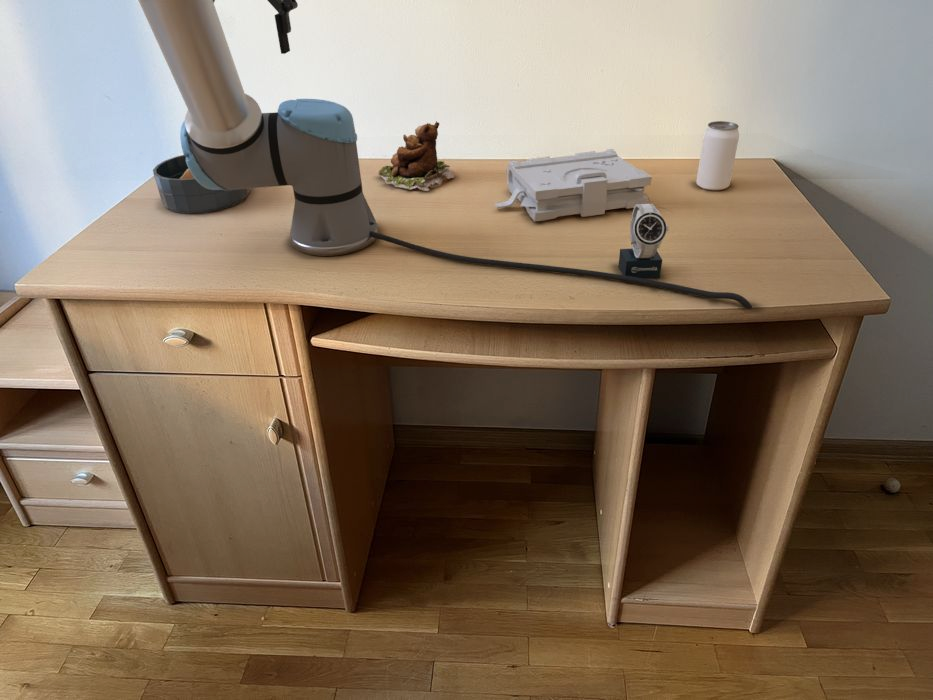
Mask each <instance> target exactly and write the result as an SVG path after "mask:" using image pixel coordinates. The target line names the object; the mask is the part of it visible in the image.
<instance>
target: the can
mask: <svg viewBox="0 0 933 700" xmlns="http://www.w3.org/2000/svg"><path fill="white" fill-rule="evenodd" d="M739 138H740V132H739V124H738V123H735V122H731V121H725V120H716V121H710V122H709V123H707V128H706V129H705V130H704V133H703V138H702V144H701V150H700V155H699V161H698V166H697V167H698V168H697V173H696V180H695V183H696V185H697V187H698V188H700V189H703V190H705V191H715V192H716V191H718V192H719V191H723V190H726V189H728V187H730V185H731V180H732V175H733V170H734V164H735V160H736V155H737V149H738V143H739Z"/></svg>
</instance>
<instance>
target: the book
mask: <svg viewBox="0 0 933 700" xmlns="http://www.w3.org/2000/svg"><path fill="white" fill-rule="evenodd" d="M506 183H507V188H508V191H509V193H510V194H511V196H510V198H509V199H507V200H506V201H501V202H494V203H493V205H494V206H495V208H496V209H503V208H508V207H511V206H512V205H514V204H515V203H516V201H517V200H518V201H519V202H520V207H524V208H525V209H526V213H527V214H528V216H529V217H530V218H531V219H532V220H533V221H534V222H543V221H548V220H553V219H557V218H558V217H564V216H572V215H579V216H581V218H584V217H592V216H600V215H605V213H606V211H608V210H616V209H624V208H625V209H627V210H628V209H634V207H635V205H637V204H649V199H650V197H649V196H648V195H646V193H644V192H645V190H644V189H645V187H648V186H651V184H652V176H651V175H650V174H649V173H648V172H646V171H644V170H643V169H641V168H637V167H635V166H634V165H632V164H631V163H629V162H627V160H625V159H624V158H622V157H621V156H619V155H618V153H617V151H616V150H615V149H614V148H607V149H606V150H605V151H598V152H596V151H595V150H594V151H593V150H592V151H583V152H576V153H575V154H572V155H565V156H555V157H550V156H543V157H535V158H528V159H527V160H522V161H521V160H520V161H517V160H516V159H513V160H510V161H509V162H508V164H507V167H506Z"/></svg>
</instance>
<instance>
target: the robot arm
mask: <svg viewBox="0 0 933 700" xmlns="http://www.w3.org/2000/svg"><path fill="white" fill-rule="evenodd" d="M137 1H138V3H139V5H140V7H141V9H142V11H143V14H144V16H145V18H146V21H147V22H148V24H149V28H150V29H151V31H152V33H153V36H154V38H155V40H156V42H157V44H158V47H159V49H160V51H161V53H162V56H163V57H164V60H165V62H166V63H167V66H168V69H169V70H170V73H171V75H172V77H173V80H174V81H175V84H176V86H177V89H178V90H179V93H180V95H181V98H182V99H183V102H184V104H185V106H186V108H187V111H186V114H185V116H184V120H183V121H182V124H181V126H180V132H179V135H180V136H179V137H180V138H179V139H180V146H181V151H182V155H185V157H186V163H187V166H188V168H189V170H190V172H191V174H192V175H193V177H194V178H195V180H196V181H197V182H198V183H199V184H200V185H201V186H203V187H205V188H207V189H210V190H226V191H231V190H236V189H249V188H250V189H261V188H272V187H273V188H274V187H285V186H288V187H289V186H292V190H293V195H294V197H293V198H294V205H293V206H294V207H293V212H292V218H291V226H290V238H291V244H292V246H293V248H294V249H295V250H297V251H298V252H300V253H304V254H306V255H311V256H319V257H332V256H342V255H347V254H351V253H355V252H358V251H360V250H361V251H362V250H363V249H365V248H367V247H369V246H370V245H371V244H374V242H375V241H376V240H377V239H378V240H381V241H384V242H388V243H391V244H393V245H397V246H400V247H403V248H405V249H409V250H412V251H416V252H420V253H422V254H427V255H430V256H434V257H438V258H442V259H446V260H450V261H451V260H452V261H456V262H462V263H469V264H475V265H476V264H477V265H483V266H484V265H485V266H493V267H494V266H495V267H502V268H510V269H521V270H530V271H537V272H538V271H539V272H548V273H549V272H550V273H556V274H557V273H558V274H566V275H574V276H583V277H590V278H591V277H592V278H598V279H605V280H610V281H611V280H612V281H617V282H618V281H619V282H625V283H631V284H637V285H643V286H648V287H652V288H659V289H664V290H668V291H674V292H679V293H683V294H688V295H692V296H697V297H703V298H707V299H715V300H716V299H722V300H723V299H724V300H732V301H736V302H737V303H739V304H741V305H742V306H743V308H744V309H745V308H746V309H753V306H752V304H751V303H750V302H749V300H748V299H747V298H745V297H744V296H743V295H740V294H738V293H735V292H727V291H724V292H723V291H710V290H709V291H708V290H704V289H700V288H699V289H698V288H693V287H688V286H684V285H679V284H675V283H670V282H665V281H658V280H653V279H650V278H645V279H643V278H637V277H632V276H625V275H622V274H618V273H611V272H605V271H604V272H603V271H597V270H589V269H581V268H573V267H564V266H554V265H546V264H537V263H527V262H526V263H525V262H517V261H509V260H498V259H490V258H480V257H472V256H465V255H460V254H454V253H450V252H445V251H440V250H436V249H432V248H429V247H424V246H422V245H418V244H415V243H411V242H409V241H405V240H402V239H399V238H395V237H393V236H389V235H386V234H382V233H379V229H378V223H377V220H376V218H375V216H374V214H373V212H372V209H371V207H370V204H369V203H368V201H367V199H366V197H365V194H364V191H363V184H362V183H363V182H362V175H361V174H362V173H361V169H360V168H361V167H360V161H359V160H360V159H359V153H358V152H359V151H358V145H357V141H358V134H357V133H356V128H355V122H354V117H353V114H352V113H351V111H350V110H349V109H348V108H347V107H345V106H344V105H342V104H340V103H337V102H335V101H330V100H325V99H319V98H318V99H317V98H296V99H288V100H285V101H282V102H281V103H280V104H279V105H278V107H277V112H262V110H261V107H260V104H259V103H258V102H257V100H256V99H254V97H252V96H250V95H249V94H247V93H245V90H244V88H243V87H244V86H243V85H242V82H241V79H240V76H239V73H238V70H237V67H236V64H235V60H234V58H233V55H232V53H231V49H230V47H229V43H228V41H227V38H226V35H225V32H224V30H223V26H222V24H221V21H220V18H219V14H218V11H217V9H216V6H215V1H216V0H137ZM267 2H268V3H269V4H270V5H271V6H272V8H274V10H275V11H276V12H277V13H276V14H274V20H275V26H276V32H277V38H278V43H279V49H280V54H281V55H285V54H287V53H289V52H290V51H291V48H290V41H289V36H288V35H289V34H290V33H291V32H292V26H291V25H292V24H291V19H290V12H291V11H293V10H295V9H298V6H299V4H298V2H297V0H267Z"/></svg>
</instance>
